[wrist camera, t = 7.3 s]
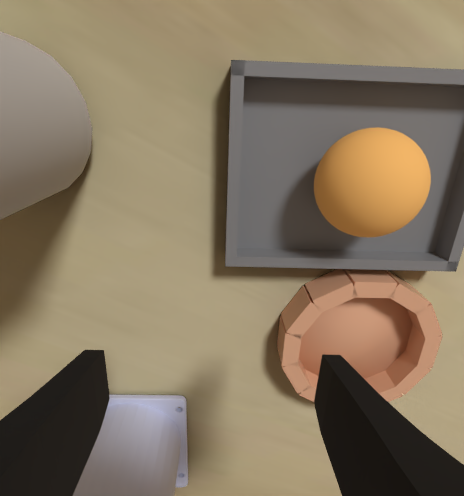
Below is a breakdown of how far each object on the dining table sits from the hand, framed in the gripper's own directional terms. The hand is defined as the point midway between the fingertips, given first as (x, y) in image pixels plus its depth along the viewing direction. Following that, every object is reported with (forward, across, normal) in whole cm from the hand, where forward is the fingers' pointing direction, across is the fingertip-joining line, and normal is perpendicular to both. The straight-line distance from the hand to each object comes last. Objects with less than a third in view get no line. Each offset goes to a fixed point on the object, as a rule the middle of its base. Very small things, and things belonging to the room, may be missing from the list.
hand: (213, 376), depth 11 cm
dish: (+10, -9, +5) cm, 14 cm away
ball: (+7, -7, -5) cm, 11 cm away
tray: (+10, -7, -6) cm, 13 cm away
